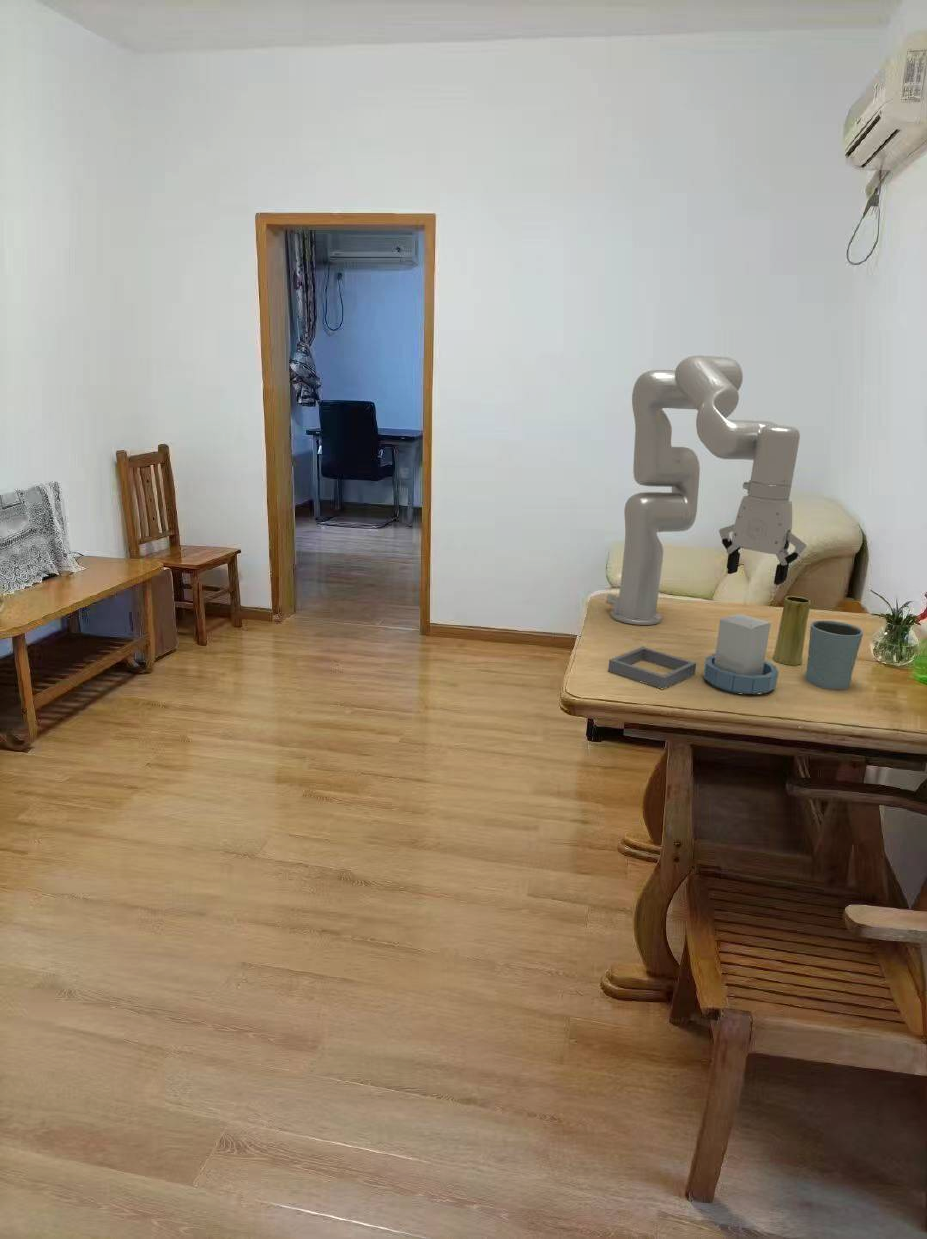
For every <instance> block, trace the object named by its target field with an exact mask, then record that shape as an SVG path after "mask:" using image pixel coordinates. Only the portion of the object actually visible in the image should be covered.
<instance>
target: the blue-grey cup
mask: <svg viewBox="0 0 927 1239" xmlns="http://www.w3.org/2000/svg"><path fill="white" fill-rule="evenodd" d="M863 636H864V631H863V629H861V628H860V627H858V626H856V625H853V624H850V623H847V622H846V623H845V622H840V621H835V620H834V621H833V620H816V621H813V622H811V623H810V628H809V642H808V650H807V651H808V652H807V654H808V656H807V662H806V663H807V664H806V672H805V680H806V681H807V683H809V684H810V685H813V686H816V687H818V688H821V689H827V690H835V691H836V690H837V691H841V690H846V689H848V688H849V687H850V684H851V681H852V675H853V671H854V668H855V665H856V661H857V660H856V659H857V657H858V652H859V650H860V646H861V643H862V639H863Z"/></svg>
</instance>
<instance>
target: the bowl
mask: <svg viewBox="0 0 927 1239" xmlns="http://www.w3.org/2000/svg"><path fill="white" fill-rule="evenodd" d="M715 654H716V653H712V654H710V655H708V656H706V657H705V659H704V665H703V678H704V680H706V681H707V682H708V683H709V685H712V687H713V688H716V687H717V689H718V688H719V690H722V691H724V692H727V693H731V694H736V693H742V694H758V693H764V694H766V693H765V692H767V693H769V692H771V691H773V690H774V689H775V688H776V687H777V682H778V677H779V676H778V675H779V670H778V667H777V666H776V665H775V664H773V663H771V662H769V661H768V660H766V659H765V661H764V667H763V673H762V675H757V676H749V675H741V674H735V673H731V672H728V671H725V670H721V669H720V668H718V667H716V666H715V665H714V661H715ZM742 694H741V695H742Z"/></svg>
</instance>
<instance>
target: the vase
mask: <svg viewBox="0 0 927 1239" xmlns="http://www.w3.org/2000/svg"><path fill="white" fill-rule="evenodd" d="M811 603H812V602H811V600H810V599H807V598H806V597H802V596H796V595H788V596H785V598H784V602H783V607H782V612H781V618H780V624H779V628H778V633H777V637H776V638H777V639H776V643H775V647H774V653H773V654H772V659H773V661H775V662H777V663H779V664H782V665H786V666H787V665H788V666H798V665H801V664H802V662H803V661H802V660H803V653H804V645H805V638H806V631H807V624H808V619H809V613H810V607H811Z"/></svg>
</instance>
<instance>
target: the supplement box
mask: <svg viewBox="0 0 927 1239" xmlns="http://www.w3.org/2000/svg"><path fill="white" fill-rule="evenodd" d="M770 628H771V622H769V621H766V620H762V619H759V618H755V617H752V616H749V615H745V614H742V613H738V614H735V615H730V616H727V617H724V618H721V619H720V620H719V626H718V634H717V640H716V641H717V643H716V648H715V653H714V654H715V661H714V665H715V666H716V667H718V668H720V669H721V670H725V671H728V672H731V673H735V674H741V675H749V676H757V675H762V673H763V667H764V661H765V660H766V653H767V647H768V641H769V635H770Z"/></svg>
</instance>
